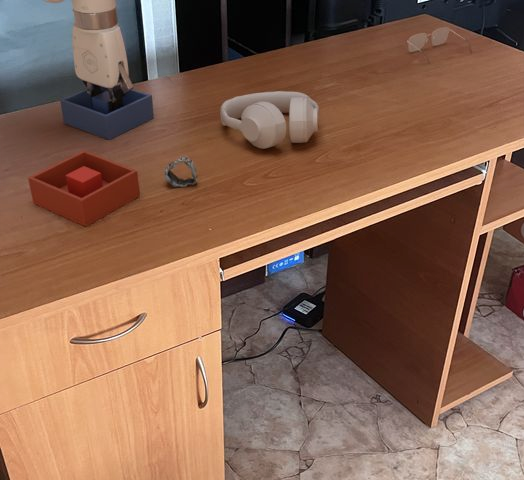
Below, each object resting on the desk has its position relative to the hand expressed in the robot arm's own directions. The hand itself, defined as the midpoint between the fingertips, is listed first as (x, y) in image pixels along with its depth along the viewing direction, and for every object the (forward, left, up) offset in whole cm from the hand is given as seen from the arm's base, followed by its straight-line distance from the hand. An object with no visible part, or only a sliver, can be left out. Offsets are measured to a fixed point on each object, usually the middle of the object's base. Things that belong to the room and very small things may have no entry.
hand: (108, 115), depth 151 cm
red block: (+19, -24, 0) cm, 31 cm away
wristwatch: (+28, -11, -1) cm, 30 cm away
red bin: (+19, -24, -1) cm, 31 cm away
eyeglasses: (+34, +72, -1) cm, 80 cm away
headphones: (+28, +15, -1) cm, 32 cm away
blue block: (0, 0, 0) cm, 0 cm away
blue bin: (0, 0, -1) cm, 1 cm away
